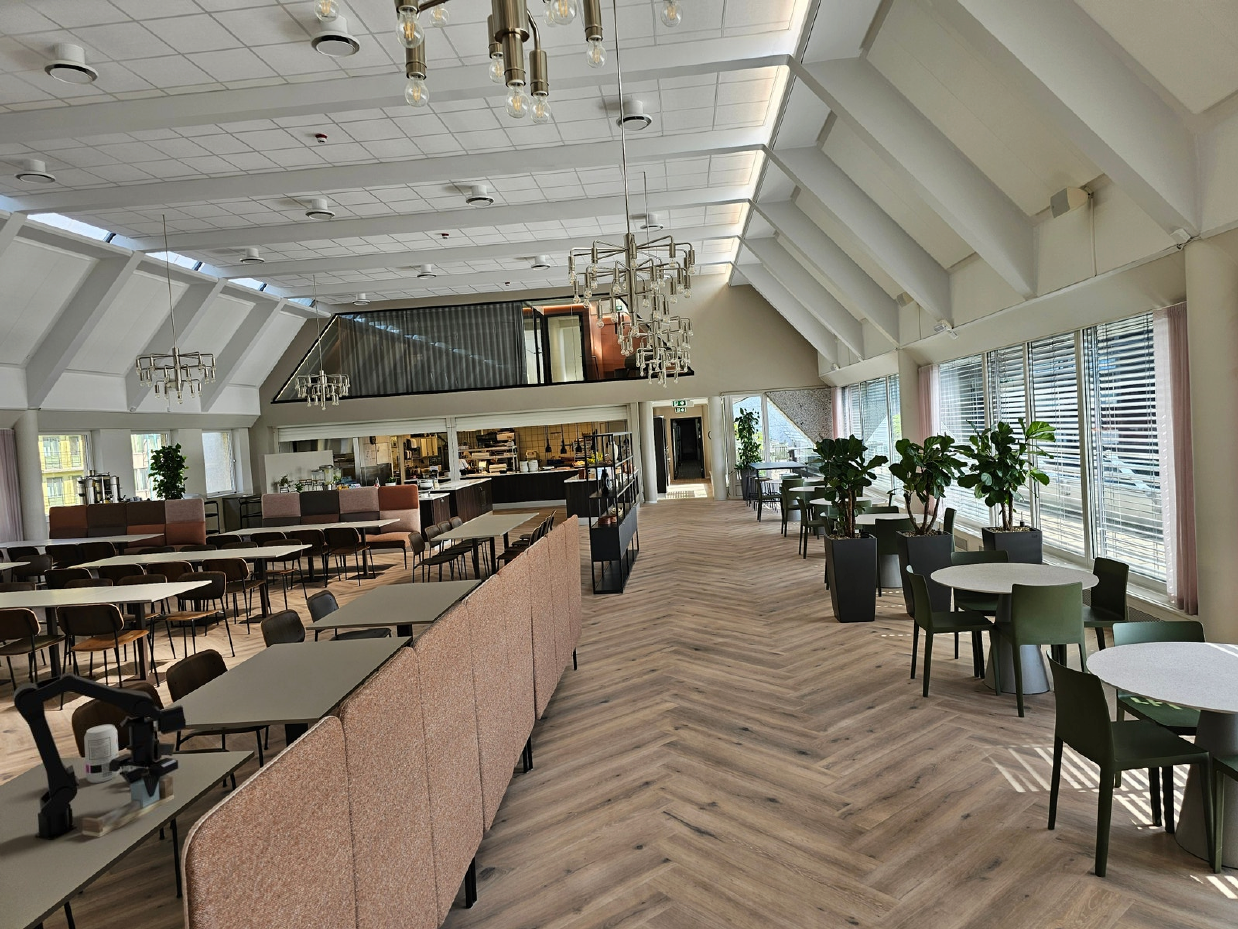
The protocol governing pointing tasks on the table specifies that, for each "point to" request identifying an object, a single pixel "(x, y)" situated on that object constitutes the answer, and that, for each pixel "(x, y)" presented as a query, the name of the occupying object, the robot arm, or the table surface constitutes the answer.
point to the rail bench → (130, 817)
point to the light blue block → (143, 793)
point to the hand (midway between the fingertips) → (145, 795)
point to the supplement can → (100, 752)
